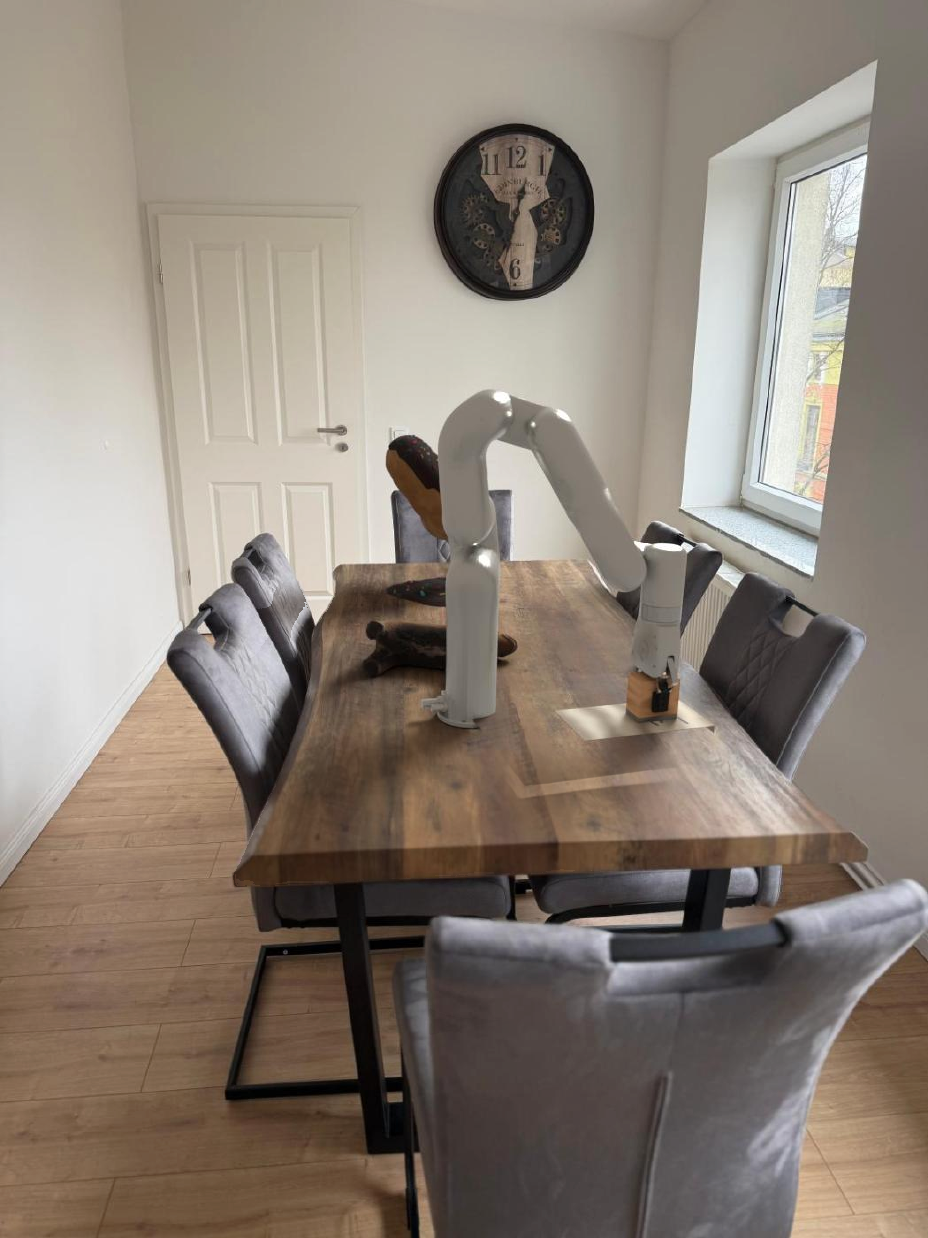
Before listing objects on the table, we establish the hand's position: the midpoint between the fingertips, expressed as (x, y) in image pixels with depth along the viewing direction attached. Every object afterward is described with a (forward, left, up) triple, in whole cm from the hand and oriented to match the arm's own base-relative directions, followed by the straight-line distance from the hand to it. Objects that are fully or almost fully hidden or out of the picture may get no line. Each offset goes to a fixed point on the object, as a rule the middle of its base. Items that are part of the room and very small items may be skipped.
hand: (652, 704), depth 163 cm
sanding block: (0, 0, -2) cm, 2 cm away
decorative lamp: (-14, +103, -4) cm, 104 cm away
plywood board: (-4, 0, -4) cm, 5 cm away
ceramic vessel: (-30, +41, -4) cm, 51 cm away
